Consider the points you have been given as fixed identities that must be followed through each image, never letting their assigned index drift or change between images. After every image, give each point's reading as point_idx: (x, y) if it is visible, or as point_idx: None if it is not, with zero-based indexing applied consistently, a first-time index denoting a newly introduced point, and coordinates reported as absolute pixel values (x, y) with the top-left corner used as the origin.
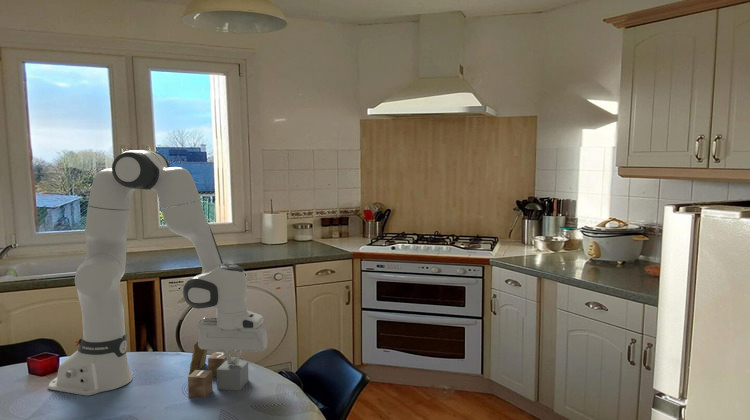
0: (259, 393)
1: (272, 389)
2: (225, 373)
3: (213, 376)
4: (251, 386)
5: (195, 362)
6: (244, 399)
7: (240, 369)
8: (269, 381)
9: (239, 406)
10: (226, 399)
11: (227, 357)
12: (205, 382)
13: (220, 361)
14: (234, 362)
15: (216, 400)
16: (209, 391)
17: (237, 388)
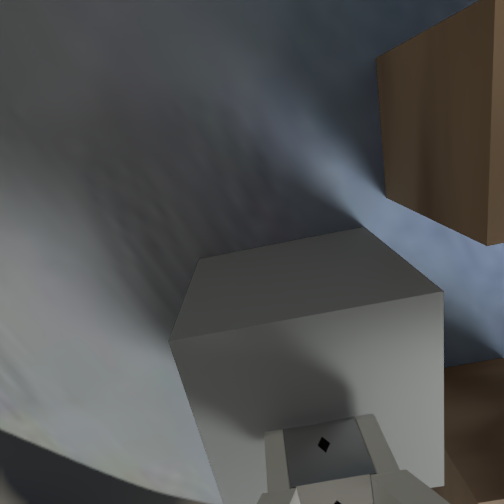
0: (48, 258)
1: (14, 331)
2: (327, 291)
3: (470, 366)
4: (164, 327)
5: None
6: (78, 140)
7: (187, 371)
8: (107, 410)
9: (27, 8)
10: (204, 92)
11: (406, 492)
12: (449, 24)
13: (492, 471)
14: (293, 446)
15: (268, 47)
16: (388, 140)
17: (217, 259)
